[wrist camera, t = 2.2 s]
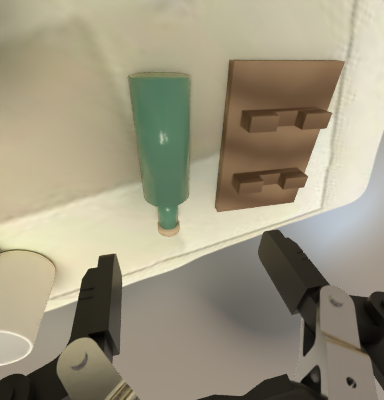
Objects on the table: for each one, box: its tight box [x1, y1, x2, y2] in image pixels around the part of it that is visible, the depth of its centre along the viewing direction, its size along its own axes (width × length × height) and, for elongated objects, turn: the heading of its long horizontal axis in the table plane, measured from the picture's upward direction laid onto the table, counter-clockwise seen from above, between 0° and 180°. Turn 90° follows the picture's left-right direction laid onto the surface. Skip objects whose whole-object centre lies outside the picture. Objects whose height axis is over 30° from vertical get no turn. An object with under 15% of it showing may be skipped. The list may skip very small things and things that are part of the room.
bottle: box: [128, 72, 190, 237], centre depth 24 cm, size 18×5×5 cm, turn 179°
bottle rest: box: [215, 60, 345, 212], centre depth 26 cm, size 18×12×4 cm, turn 179°
